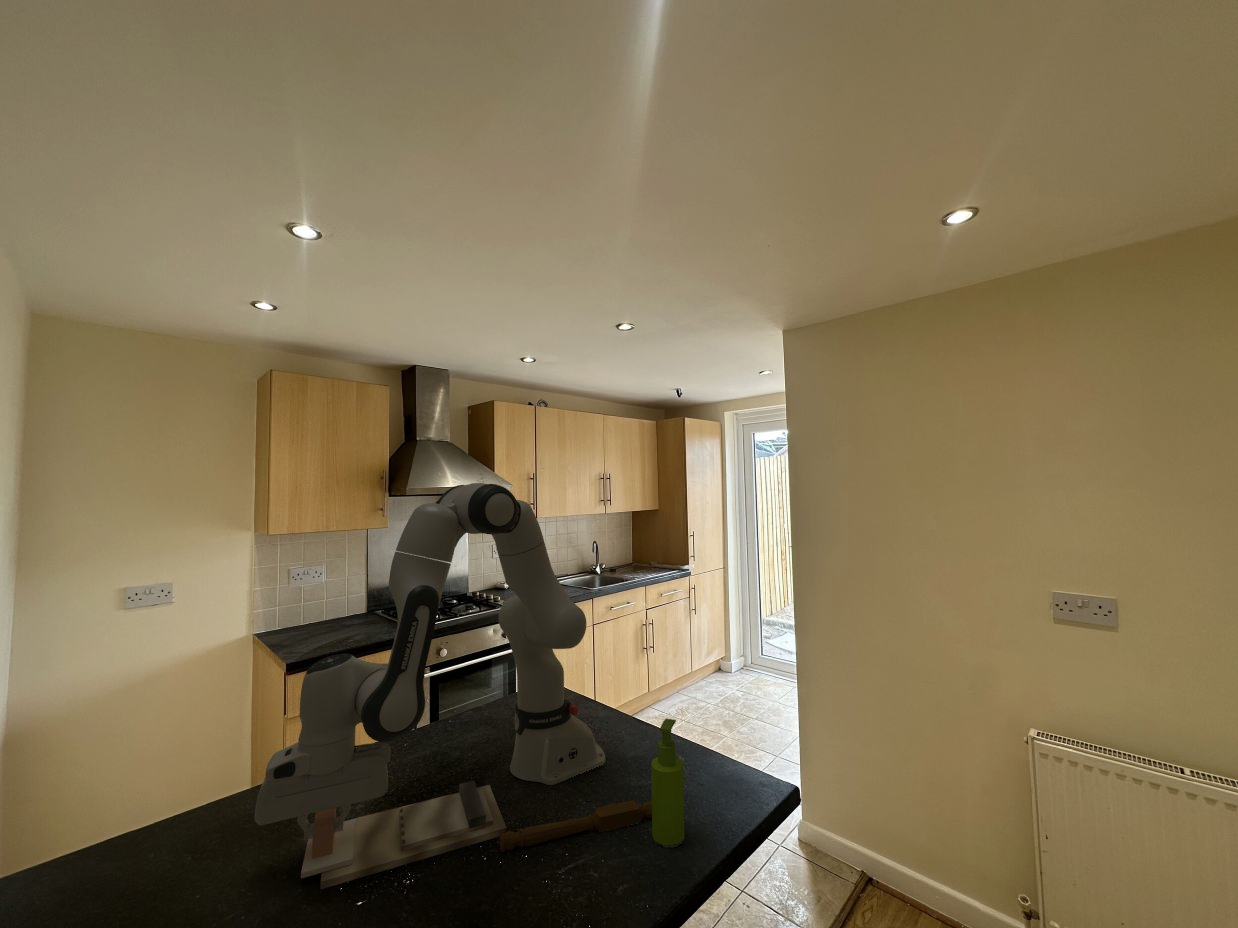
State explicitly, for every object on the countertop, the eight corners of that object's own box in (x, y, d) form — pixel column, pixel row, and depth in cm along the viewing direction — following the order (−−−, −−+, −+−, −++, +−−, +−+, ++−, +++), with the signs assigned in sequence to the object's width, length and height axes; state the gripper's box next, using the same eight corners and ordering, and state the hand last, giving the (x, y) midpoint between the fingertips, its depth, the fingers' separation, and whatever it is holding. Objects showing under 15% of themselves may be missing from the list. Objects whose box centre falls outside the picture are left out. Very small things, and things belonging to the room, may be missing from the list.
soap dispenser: (688, 827, 94) (686, 718, 96) (680, 851, 88) (678, 733, 90) (658, 821, 96) (656, 714, 98) (648, 844, 90) (647, 729, 91)
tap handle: (499, 828, 91) (651, 795, 100) (499, 845, 90) (652, 811, 100) (501, 838, 88) (657, 804, 97) (500, 857, 87) (658, 820, 97)
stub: (355, 822, 95) (356, 791, 95) (352, 863, 84) (353, 827, 84) (309, 834, 91) (311, 801, 92) (300, 878, 81) (302, 840, 81)
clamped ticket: (489, 790, 107) (489, 772, 108) (506, 834, 93) (506, 813, 93) (329, 831, 94) (329, 811, 95) (320, 889, 80) (321, 865, 80)
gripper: (390, 731, 96) (388, 807, 95) (262, 756, 87) (258, 839, 86) (391, 746, 90) (389, 826, 89) (254, 773, 81) (250, 863, 80)
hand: (324, 833), depth 87 cm, fingers closed on stub, 3 cm apart
